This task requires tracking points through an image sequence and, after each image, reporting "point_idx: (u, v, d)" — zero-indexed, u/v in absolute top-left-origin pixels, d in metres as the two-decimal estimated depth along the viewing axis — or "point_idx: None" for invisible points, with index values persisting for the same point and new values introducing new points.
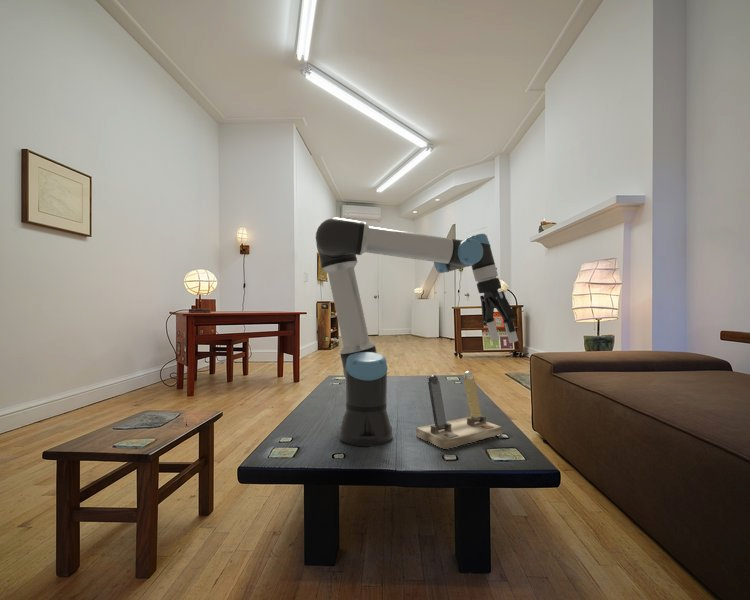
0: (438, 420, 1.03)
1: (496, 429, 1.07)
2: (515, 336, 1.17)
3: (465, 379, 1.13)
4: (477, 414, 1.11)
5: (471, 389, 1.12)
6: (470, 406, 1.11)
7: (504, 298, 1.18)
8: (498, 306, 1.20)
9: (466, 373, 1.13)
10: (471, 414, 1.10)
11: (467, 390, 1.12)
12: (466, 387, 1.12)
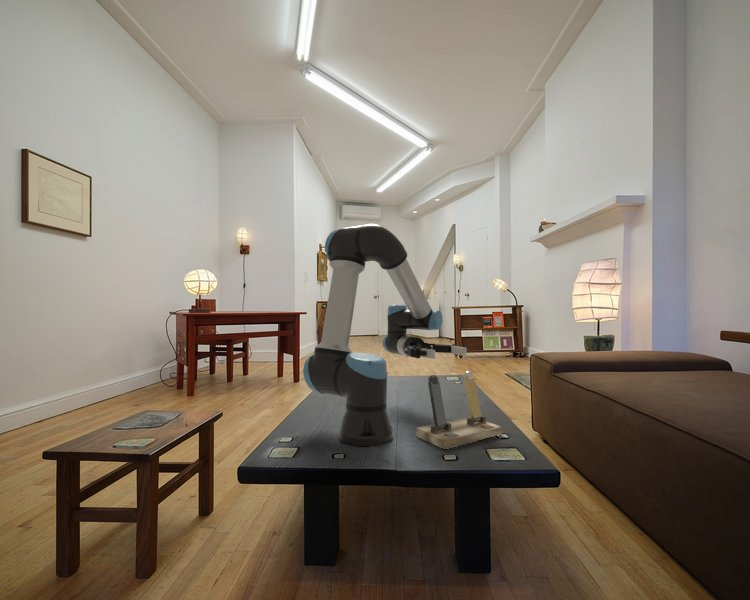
0: (438, 420, 1.03)
1: (496, 429, 1.07)
2: None
3: (465, 379, 1.13)
4: (477, 414, 1.11)
5: (471, 389, 1.12)
6: (470, 406, 1.11)
7: None
8: None
9: (466, 373, 1.13)
10: (471, 414, 1.10)
11: (467, 390, 1.12)
12: (466, 387, 1.12)
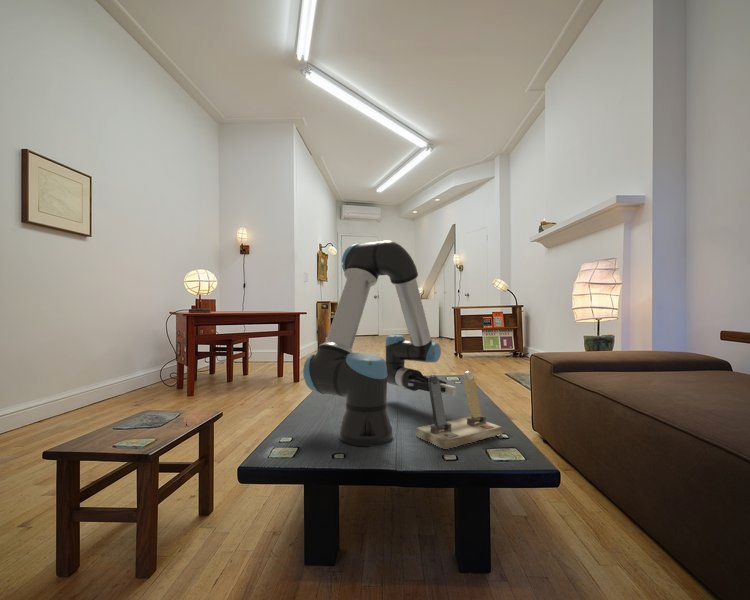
0: (438, 420, 1.03)
1: (496, 429, 1.07)
2: None
3: (465, 379, 1.13)
4: (477, 414, 1.11)
5: (471, 389, 1.12)
6: (470, 406, 1.11)
7: None
8: None
9: (466, 373, 1.13)
10: (471, 414, 1.10)
11: (467, 390, 1.12)
12: (466, 387, 1.12)
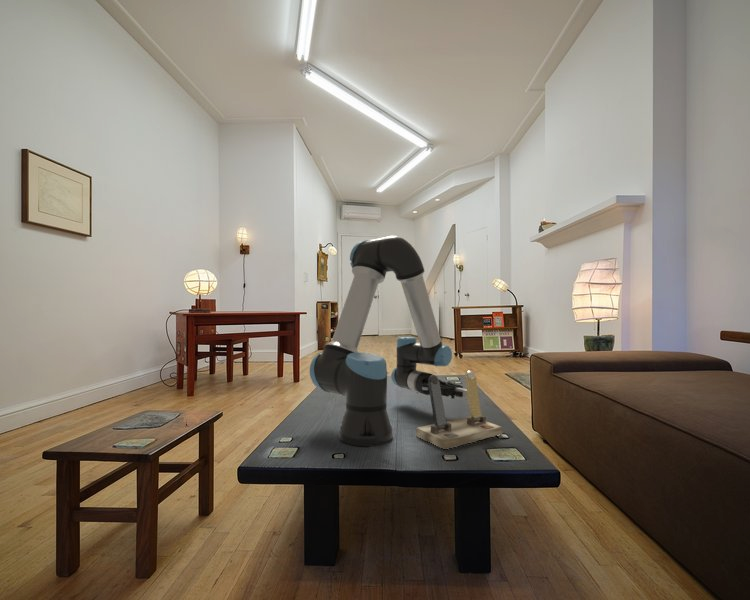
0: (438, 420, 1.03)
1: (496, 429, 1.07)
2: None
3: (467, 379, 1.12)
4: (477, 414, 1.11)
5: (472, 389, 1.12)
6: (471, 406, 1.11)
7: None
8: None
9: (468, 373, 1.13)
10: (471, 414, 1.10)
11: (468, 390, 1.12)
12: (467, 387, 1.12)
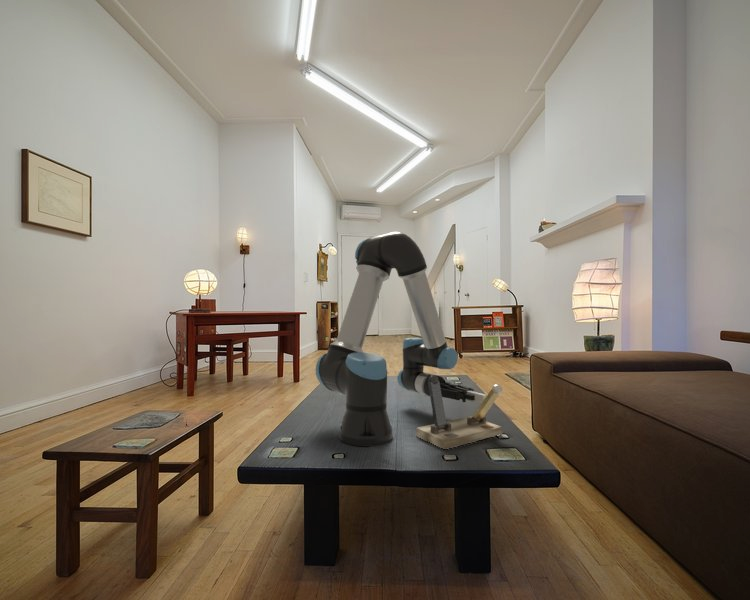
0: (438, 420, 1.03)
1: (496, 429, 1.07)
2: None
3: (491, 392, 1.04)
4: (480, 417, 1.10)
5: (490, 401, 1.06)
6: (478, 411, 1.08)
7: None
8: None
9: (496, 389, 1.03)
10: (474, 416, 1.09)
11: (486, 400, 1.06)
12: (487, 397, 1.05)
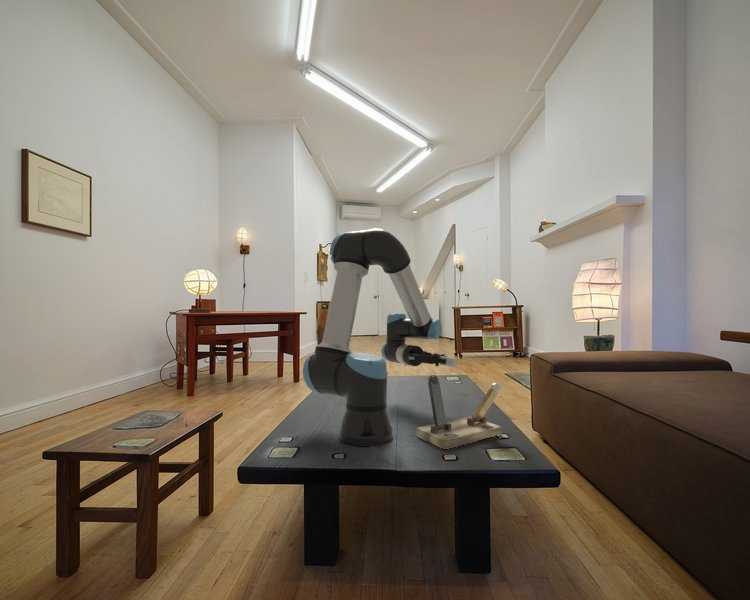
0: (438, 420, 1.03)
1: (496, 429, 1.07)
2: None
3: (490, 391, 1.05)
4: (480, 417, 1.10)
5: (489, 400, 1.06)
6: (478, 411, 1.08)
7: None
8: None
9: (495, 387, 1.04)
10: (474, 416, 1.09)
11: (485, 399, 1.06)
12: (486, 396, 1.06)
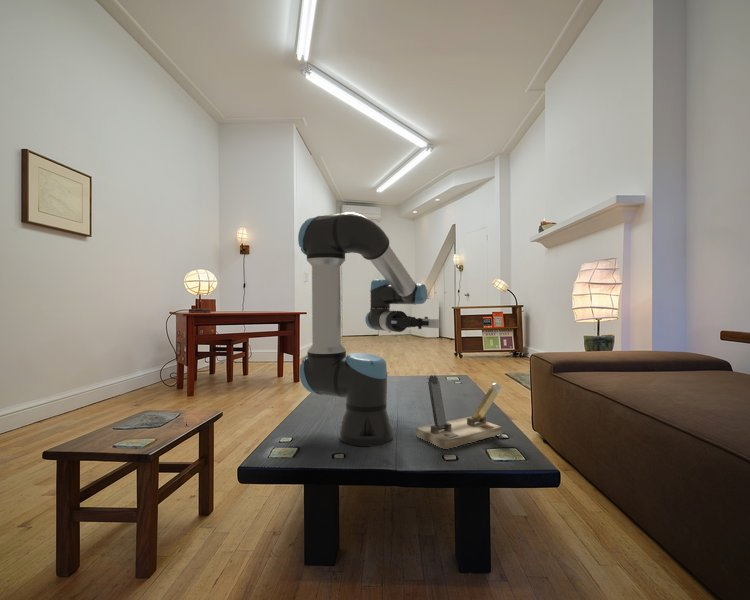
0: (438, 420, 1.03)
1: (496, 429, 1.07)
2: None
3: (490, 391, 1.05)
4: (480, 417, 1.10)
5: (489, 400, 1.06)
6: (478, 411, 1.08)
7: None
8: None
9: (495, 387, 1.04)
10: (474, 416, 1.09)
11: (485, 399, 1.06)
12: (486, 396, 1.06)
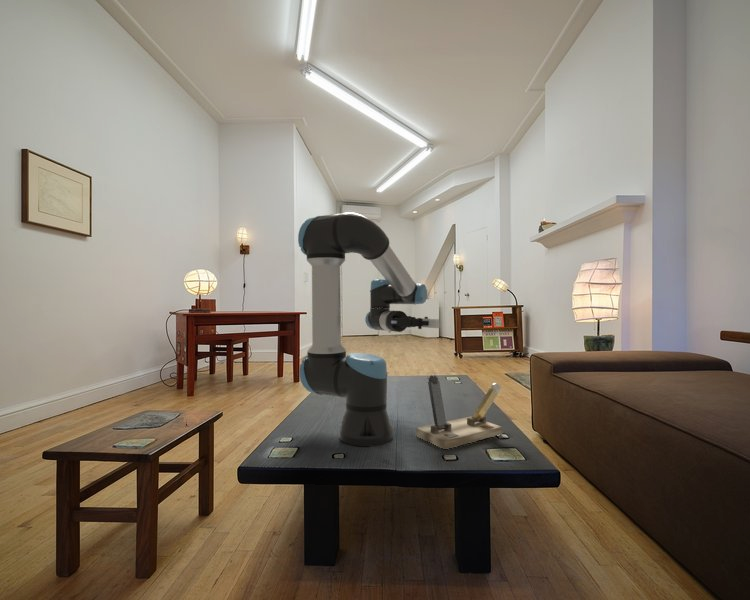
0: (438, 420, 1.03)
1: (496, 429, 1.07)
2: None
3: (490, 391, 1.05)
4: (480, 417, 1.10)
5: (489, 400, 1.06)
6: (478, 411, 1.08)
7: None
8: None
9: (495, 387, 1.04)
10: (474, 416, 1.09)
11: (485, 399, 1.06)
12: (486, 396, 1.06)
